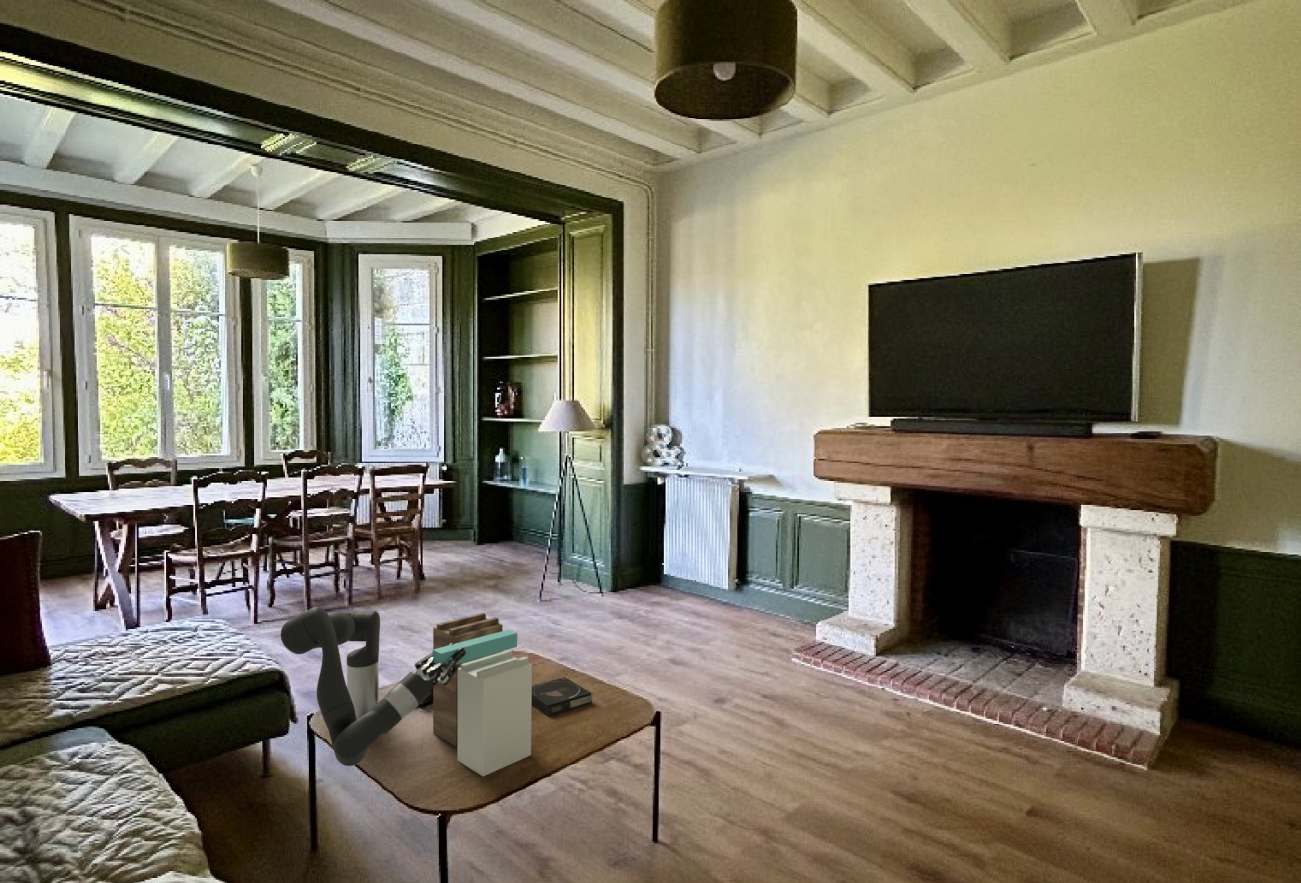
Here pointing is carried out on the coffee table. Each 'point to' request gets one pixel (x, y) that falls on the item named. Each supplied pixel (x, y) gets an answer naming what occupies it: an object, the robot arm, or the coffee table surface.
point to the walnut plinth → (448, 694)
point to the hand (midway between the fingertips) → (458, 647)
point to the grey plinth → (494, 712)
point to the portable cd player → (559, 696)
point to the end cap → (427, 701)
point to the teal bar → (478, 647)
